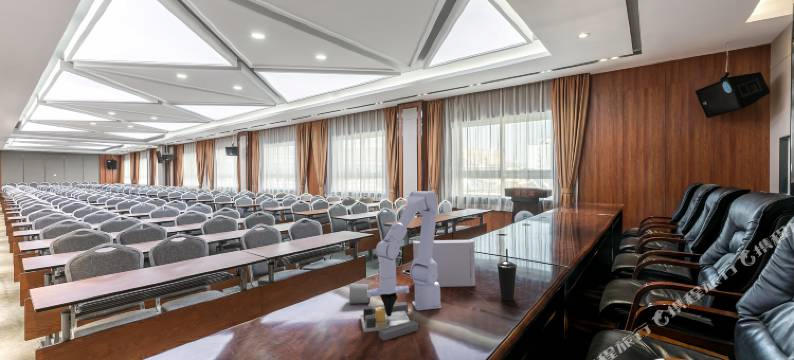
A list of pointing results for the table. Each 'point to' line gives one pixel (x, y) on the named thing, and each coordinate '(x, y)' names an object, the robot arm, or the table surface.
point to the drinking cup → (507, 278)
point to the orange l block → (380, 314)
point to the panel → (372, 325)
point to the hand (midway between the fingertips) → (388, 315)
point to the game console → (453, 261)
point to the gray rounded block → (359, 293)
